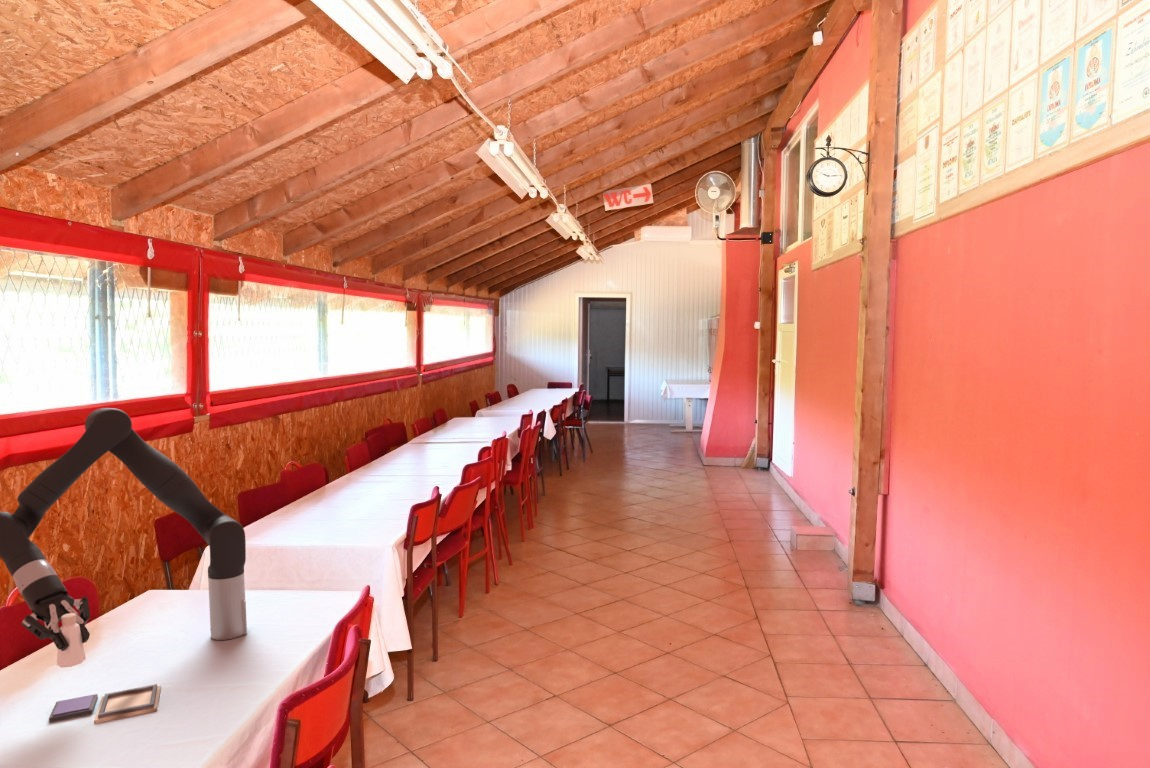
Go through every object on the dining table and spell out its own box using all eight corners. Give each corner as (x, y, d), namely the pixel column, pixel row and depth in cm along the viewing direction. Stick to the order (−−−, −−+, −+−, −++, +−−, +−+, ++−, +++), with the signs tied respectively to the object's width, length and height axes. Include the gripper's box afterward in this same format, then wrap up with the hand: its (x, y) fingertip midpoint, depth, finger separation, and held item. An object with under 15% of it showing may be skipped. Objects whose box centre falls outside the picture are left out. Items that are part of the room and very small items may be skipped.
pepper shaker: (71, 668, 163) (68, 620, 162) (50, 666, 164) (47, 618, 163) (91, 658, 168) (89, 611, 167) (71, 656, 169) (68, 609, 168)
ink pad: (97, 698, 172) (97, 692, 172) (92, 713, 165) (92, 708, 165) (56, 705, 169) (56, 700, 168) (49, 722, 161) (48, 716, 161)
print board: (161, 687, 177) (160, 682, 177) (157, 710, 166) (156, 704, 166) (102, 699, 171) (101, 693, 171) (94, 723, 161) (93, 717, 161)
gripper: (11, 584, 161) (49, 647, 157) (77, 565, 174) (114, 623, 170) (-2, 604, 164) (35, 667, 160) (65, 584, 177) (101, 641, 173)
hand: (76, 644), depth 165 cm, fingers closed on pepper shaker, 3 cm apart
